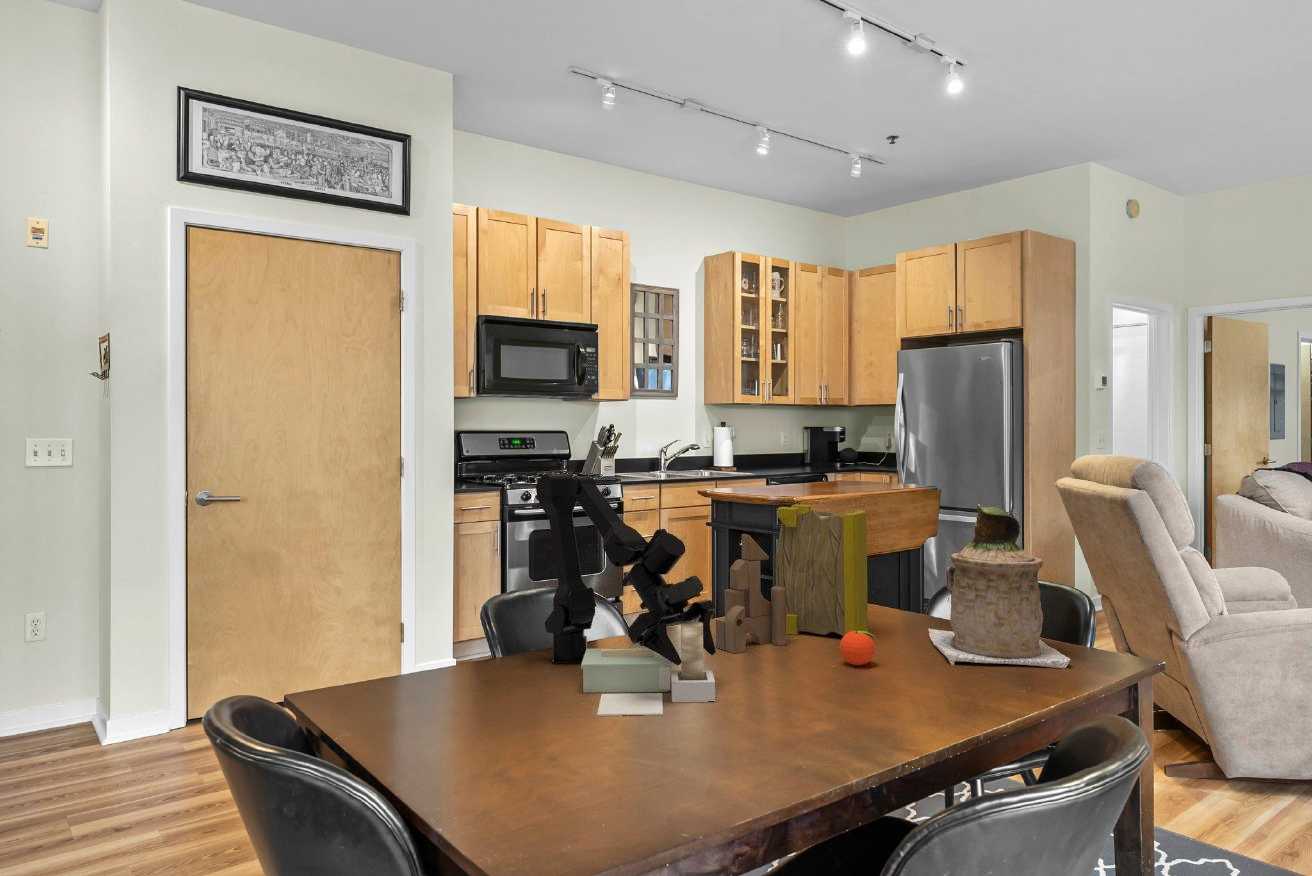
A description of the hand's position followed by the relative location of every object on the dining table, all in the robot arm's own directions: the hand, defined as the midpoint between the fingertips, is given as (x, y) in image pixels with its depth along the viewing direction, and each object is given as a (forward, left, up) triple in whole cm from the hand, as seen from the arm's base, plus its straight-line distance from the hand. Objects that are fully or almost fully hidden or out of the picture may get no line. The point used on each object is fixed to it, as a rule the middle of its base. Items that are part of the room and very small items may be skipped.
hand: (697, 658), depth 147 cm
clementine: (+34, +20, -7) cm, 40 cm away
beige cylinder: (-1, +1, -7) cm, 7 cm away
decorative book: (+32, +48, -7) cm, 58 cm away
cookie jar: (+65, +29, -7) cm, 72 cm away
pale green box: (-9, +6, -7) cm, 13 cm away
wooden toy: (+14, +36, -7) cm, 39 cm away
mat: (-12, -4, -7) cm, 14 cm away
